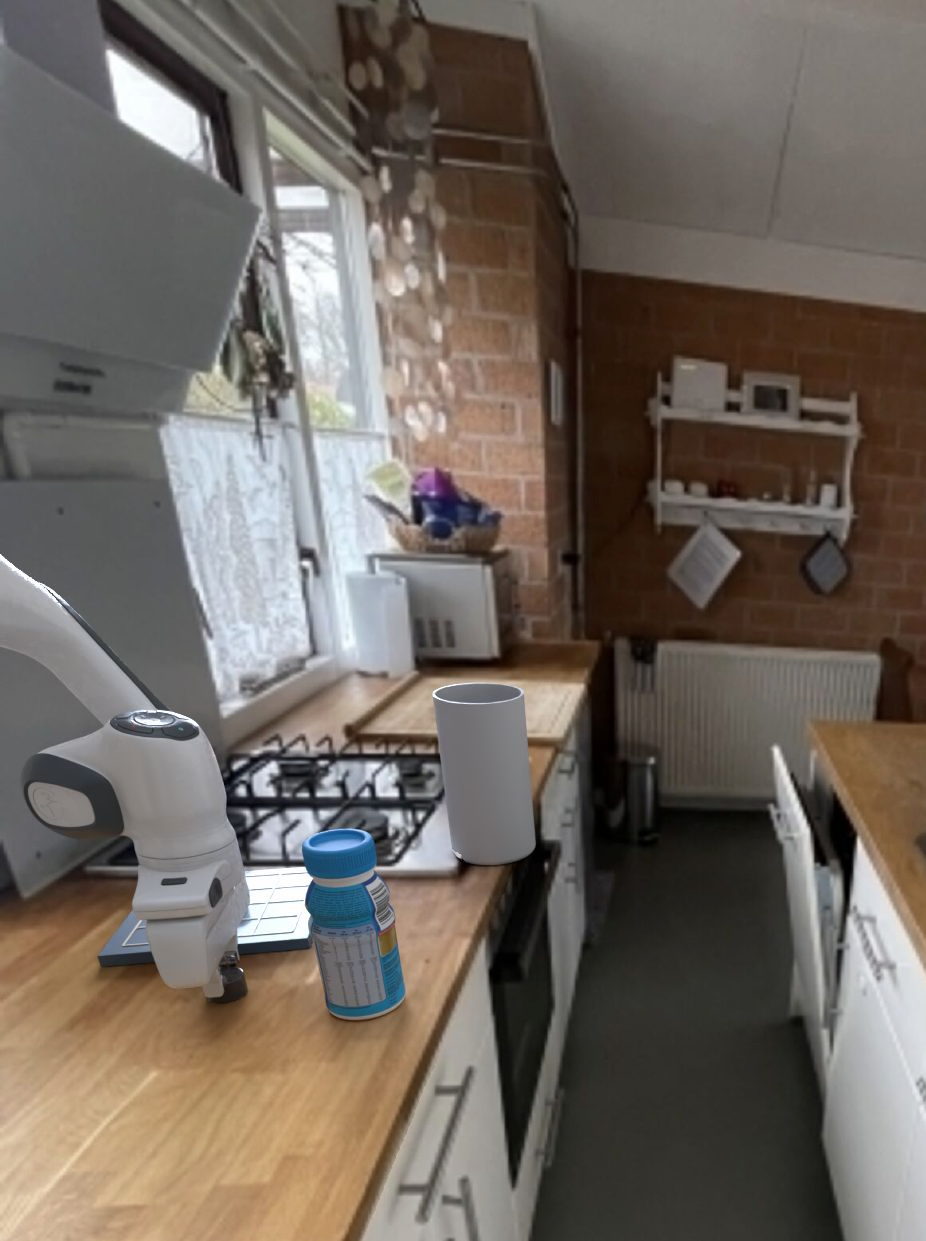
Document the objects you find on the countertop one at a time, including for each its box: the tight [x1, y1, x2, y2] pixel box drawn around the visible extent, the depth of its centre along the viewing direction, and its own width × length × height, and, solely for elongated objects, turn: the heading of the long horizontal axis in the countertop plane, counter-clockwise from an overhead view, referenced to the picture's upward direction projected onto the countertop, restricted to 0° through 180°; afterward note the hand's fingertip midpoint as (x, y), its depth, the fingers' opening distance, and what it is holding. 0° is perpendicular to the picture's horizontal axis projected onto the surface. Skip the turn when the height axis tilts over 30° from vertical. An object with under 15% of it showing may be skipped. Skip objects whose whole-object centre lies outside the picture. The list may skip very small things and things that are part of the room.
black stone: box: [206, 966, 249, 1004], centre depth 99 cm, size 4×4×2 cm
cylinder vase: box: [432, 682, 537, 866], centre depth 133 cm, size 12×12×25 cm
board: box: [97, 866, 313, 968], centre depth 115 cm, size 22×22×2 cm
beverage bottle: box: [301, 828, 407, 1021], centre depth 95 cm, size 8×8×20 cm
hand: (223, 979), depth 98 cm, fingers open, 5 cm apart
